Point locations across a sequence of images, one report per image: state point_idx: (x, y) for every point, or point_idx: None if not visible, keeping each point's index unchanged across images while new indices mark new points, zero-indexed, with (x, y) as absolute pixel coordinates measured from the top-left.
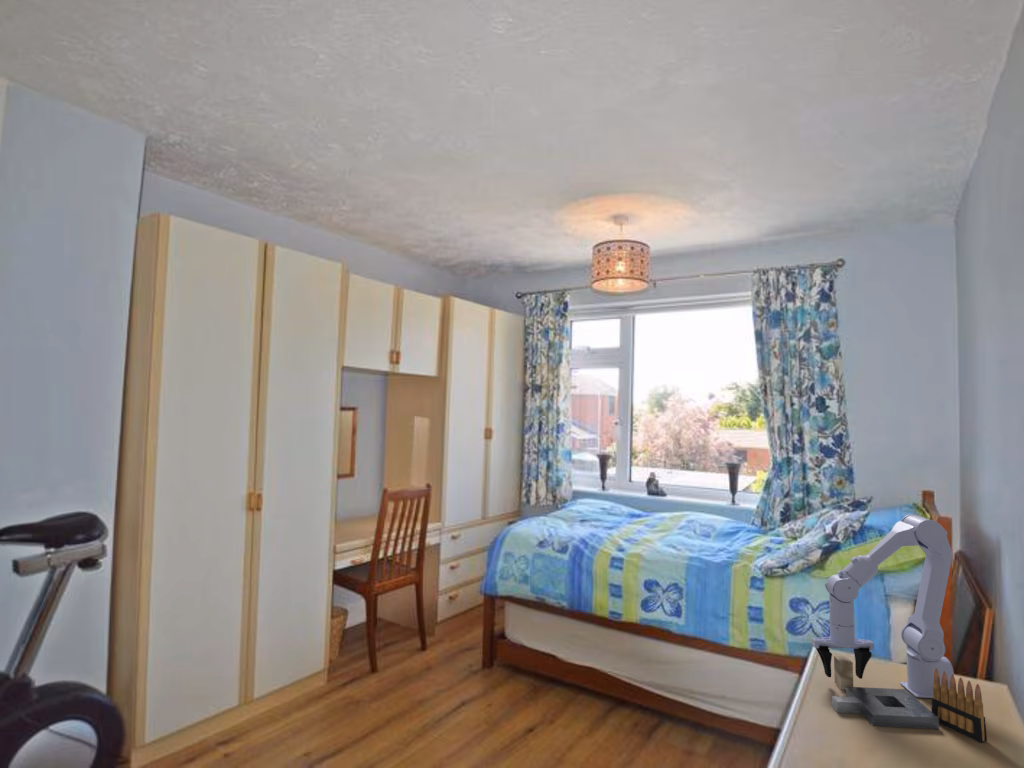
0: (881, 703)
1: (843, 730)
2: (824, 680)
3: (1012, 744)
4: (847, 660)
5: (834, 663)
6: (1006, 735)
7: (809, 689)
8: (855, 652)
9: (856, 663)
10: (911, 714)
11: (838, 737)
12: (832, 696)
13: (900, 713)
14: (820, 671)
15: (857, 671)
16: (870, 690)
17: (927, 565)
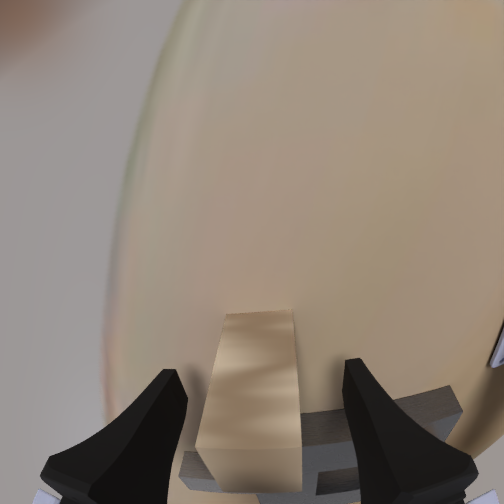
0: (314, 490)
1: (198, 493)
2: (177, 295)
3: (476, 456)
4: (279, 482)
5: (207, 404)
6: (495, 437)
7: (117, 377)
8: (382, 480)
9: (365, 417)
10: (357, 499)
11: (186, 499)
12: (180, 477)
13: (334, 502)
14: (174, 165)
15: (350, 397)
16: (327, 455)
17: None
